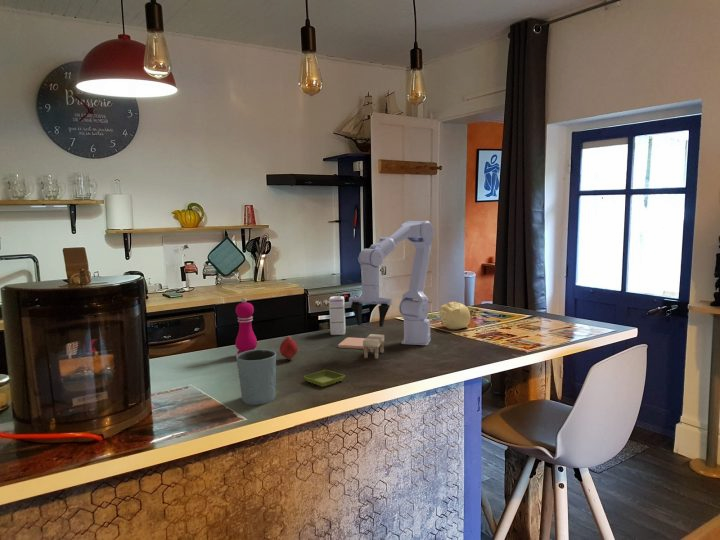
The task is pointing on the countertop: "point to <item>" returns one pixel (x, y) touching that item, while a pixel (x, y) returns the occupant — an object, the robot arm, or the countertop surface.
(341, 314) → the syrup box
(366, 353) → the stool
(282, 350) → the pomegranate
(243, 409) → the countertop surface
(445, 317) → the pale yellow round lump
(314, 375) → the saucer
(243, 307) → the pepper mill
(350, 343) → the board
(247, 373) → the grey cup
